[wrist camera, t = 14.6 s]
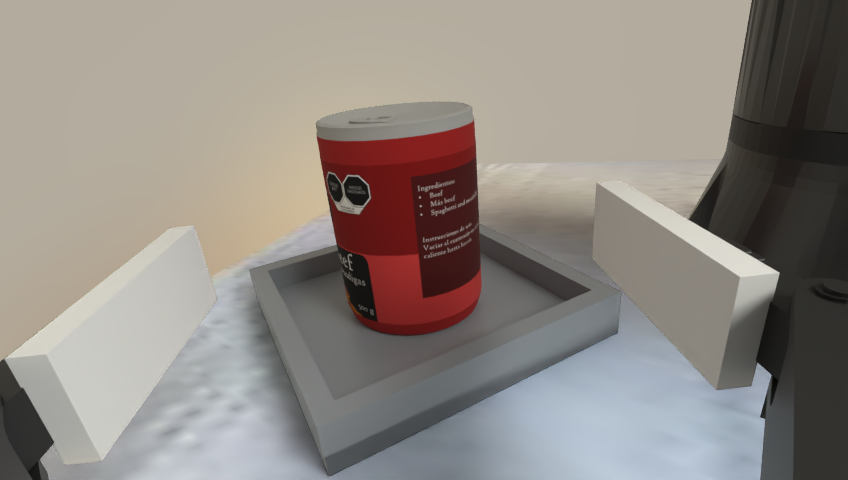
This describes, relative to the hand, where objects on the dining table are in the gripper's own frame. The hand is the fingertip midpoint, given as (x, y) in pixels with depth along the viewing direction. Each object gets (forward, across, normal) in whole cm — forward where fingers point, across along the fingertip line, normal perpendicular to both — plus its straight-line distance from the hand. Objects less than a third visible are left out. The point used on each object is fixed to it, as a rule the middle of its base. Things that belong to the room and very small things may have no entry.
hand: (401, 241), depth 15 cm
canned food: (+10, 0, -8) cm, 13 cm away
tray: (+10, 0, -9) cm, 13 cm away
